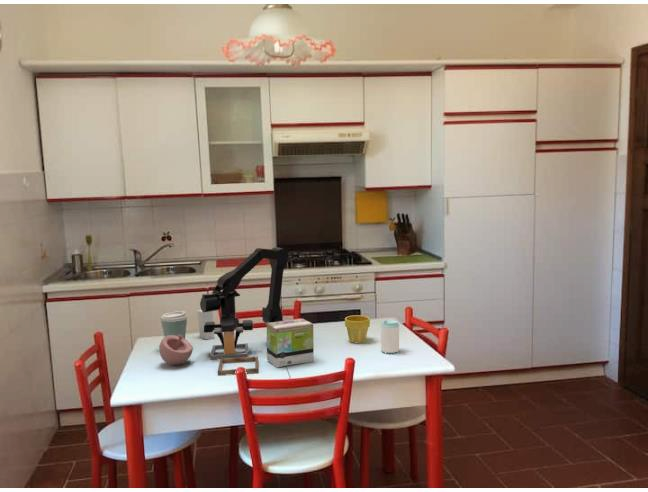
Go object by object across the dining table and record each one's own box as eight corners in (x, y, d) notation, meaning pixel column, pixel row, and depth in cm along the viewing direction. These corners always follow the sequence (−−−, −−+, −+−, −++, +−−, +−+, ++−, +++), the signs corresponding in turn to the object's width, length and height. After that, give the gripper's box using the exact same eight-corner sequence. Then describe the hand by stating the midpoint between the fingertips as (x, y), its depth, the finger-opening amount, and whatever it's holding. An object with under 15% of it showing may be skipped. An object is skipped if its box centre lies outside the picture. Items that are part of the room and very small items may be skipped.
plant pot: (374, 339, 241) (374, 316, 240) (362, 346, 233) (362, 322, 232) (352, 336, 247) (352, 314, 246) (340, 342, 238) (340, 319, 237)
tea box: (277, 368, 208) (275, 328, 206) (266, 361, 217) (265, 322, 215) (314, 361, 215) (313, 322, 213) (303, 354, 224) (302, 317, 222)
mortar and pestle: (182, 370, 208) (181, 339, 206) (153, 368, 211) (151, 337, 210) (199, 360, 219) (197, 330, 218) (171, 358, 223) (169, 329, 221)
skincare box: (214, 338, 249) (213, 310, 247) (205, 340, 246) (204, 312, 244) (207, 335, 253) (206, 308, 252) (198, 337, 250) (197, 309, 249)
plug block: (235, 350, 229) (234, 331, 228) (234, 353, 225) (233, 333, 224) (224, 351, 229) (224, 331, 228) (224, 354, 225) (223, 334, 224)
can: (386, 355, 221) (386, 324, 219) (377, 350, 227) (377, 320, 226) (402, 352, 223) (402, 322, 222) (393, 347, 230) (393, 318, 228)
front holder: (258, 360, 217) (257, 356, 217) (258, 372, 204) (258, 368, 203) (220, 362, 216) (220, 358, 216) (217, 375, 202) (217, 371, 202)
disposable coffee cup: (162, 354, 227) (160, 317, 225) (161, 347, 237) (159, 311, 235) (190, 351, 230) (188, 314, 228) (187, 344, 240) (185, 308, 238)
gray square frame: (248, 346, 235) (247, 343, 235) (247, 357, 221) (247, 353, 221) (213, 348, 233) (212, 345, 233) (210, 359, 219) (210, 355, 219)
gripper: (201, 314, 216) (203, 355, 218) (251, 312, 218) (253, 352, 220) (204, 307, 227) (206, 346, 229) (252, 305, 229) (253, 344, 231)
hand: (229, 347), depth 227 cm, fingers closed on plug block, 4 cm apart
